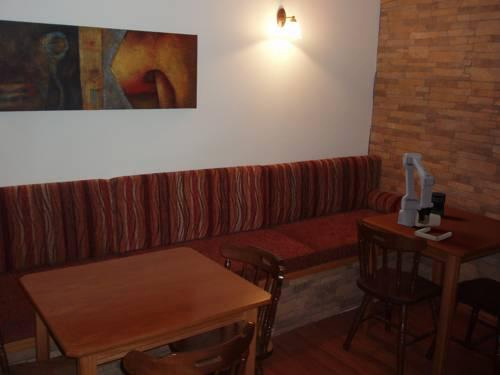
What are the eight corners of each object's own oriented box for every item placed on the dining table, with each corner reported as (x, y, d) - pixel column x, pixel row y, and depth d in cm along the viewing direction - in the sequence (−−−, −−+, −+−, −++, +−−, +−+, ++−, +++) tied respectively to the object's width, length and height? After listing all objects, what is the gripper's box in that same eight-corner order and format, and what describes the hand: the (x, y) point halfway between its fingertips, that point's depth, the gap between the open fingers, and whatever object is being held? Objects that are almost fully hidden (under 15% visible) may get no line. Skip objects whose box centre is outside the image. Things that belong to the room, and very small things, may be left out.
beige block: (417, 223, 295) (418, 215, 294) (421, 221, 298) (422, 214, 297) (424, 224, 291) (425, 217, 290) (428, 223, 294) (429, 215, 293)
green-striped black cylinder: (427, 213, 344) (429, 191, 341) (442, 214, 342) (444, 192, 339) (429, 217, 334) (431, 194, 331) (444, 218, 332) (447, 195, 329)
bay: (414, 235, 294) (414, 231, 294) (428, 230, 305) (428, 226, 304) (437, 241, 284) (437, 237, 283) (451, 235, 295) (451, 232, 294)
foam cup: (438, 213, 311) (416, 211, 313) (441, 212, 302) (418, 209, 304) (437, 229, 309) (414, 226, 311) (440, 228, 300) (417, 225, 302)
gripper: (426, 200, 284) (423, 223, 286) (439, 196, 293) (436, 219, 296) (414, 197, 289) (412, 221, 291) (427, 194, 298) (425, 217, 301)
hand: (423, 220), depth 294 cm, fingers closed on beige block, 4 cm apart
